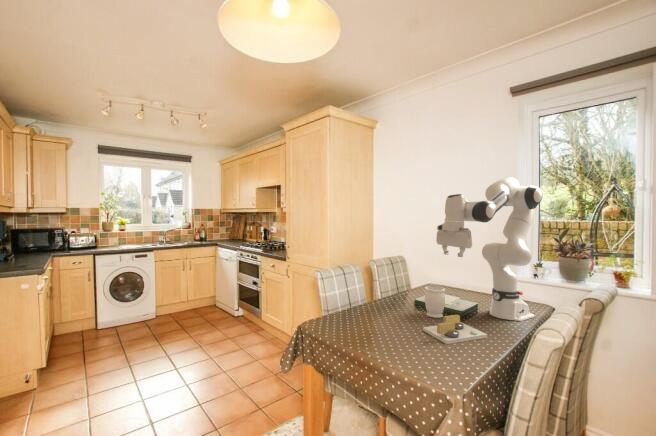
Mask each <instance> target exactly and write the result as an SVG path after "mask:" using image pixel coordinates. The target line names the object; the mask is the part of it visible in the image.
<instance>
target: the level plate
mask: <svg viewBox="0 0 656 436" xmlns="http://www.w3.org/2000/svg"><path fill="white" fill-rule="evenodd" d="M460 323H463V322H462V321H460ZM463 324H464V328H463V329H455V330H457V331H458V332H459V337H457V338H452V337H448V336H445V335H444V334H438V333H437V324H436V325H431V326H423V327H422V331H424V332H425V333H427V334H428V335H430V336H431V337H433V338H435V339H436V340H439V341H440V342H442V343H444V344H446V345H451V344H452V345H453V344H457V343H463V342H470V341H476V340H482V339H487V338H488V333H486V332H483V331H481V330H479V329H476V328H475V327H473V326H471V325H468V324H467V323H466V324H465V323H463Z"/></svg>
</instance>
